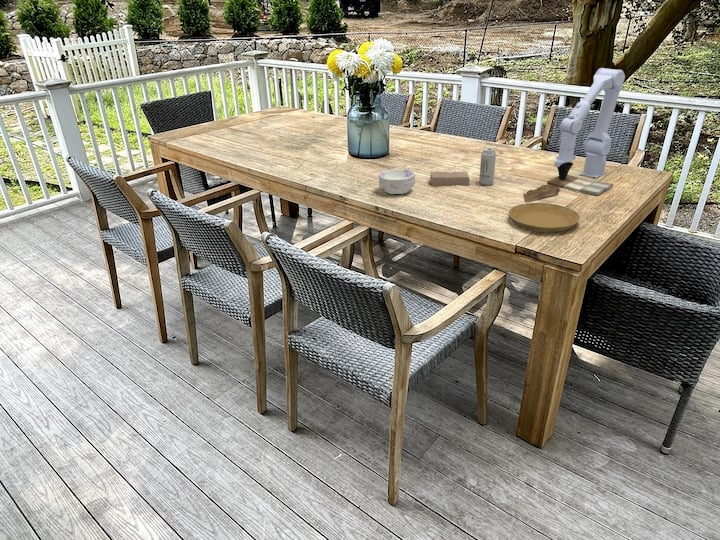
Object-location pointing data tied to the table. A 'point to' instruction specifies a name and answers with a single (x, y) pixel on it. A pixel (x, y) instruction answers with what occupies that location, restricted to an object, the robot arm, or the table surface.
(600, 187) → the grey oak plank
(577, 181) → the ash board
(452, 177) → the brick
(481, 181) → the energy drink can
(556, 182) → the walnut plank
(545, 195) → the fossil skeleton slab
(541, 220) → the plant saucer
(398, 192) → the paper bowls
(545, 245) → the table surface
